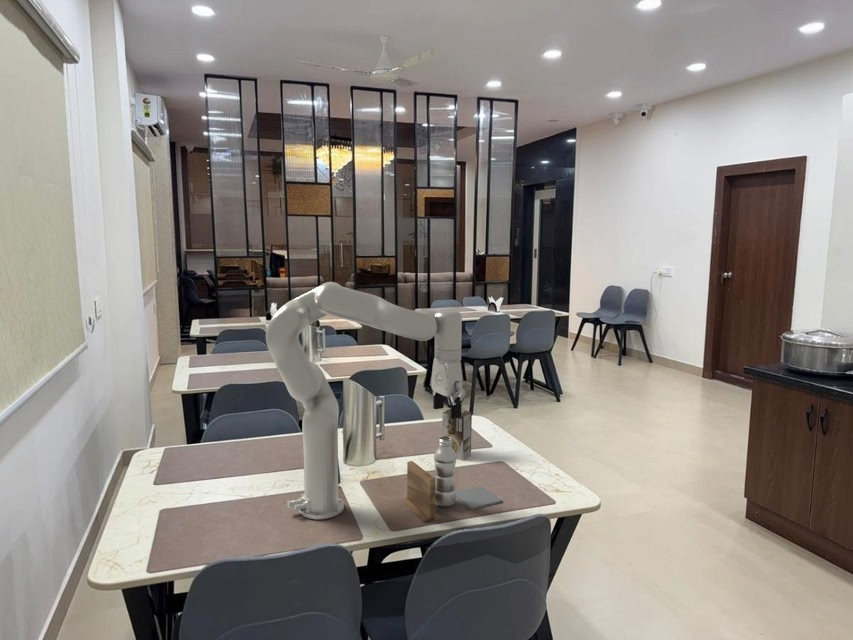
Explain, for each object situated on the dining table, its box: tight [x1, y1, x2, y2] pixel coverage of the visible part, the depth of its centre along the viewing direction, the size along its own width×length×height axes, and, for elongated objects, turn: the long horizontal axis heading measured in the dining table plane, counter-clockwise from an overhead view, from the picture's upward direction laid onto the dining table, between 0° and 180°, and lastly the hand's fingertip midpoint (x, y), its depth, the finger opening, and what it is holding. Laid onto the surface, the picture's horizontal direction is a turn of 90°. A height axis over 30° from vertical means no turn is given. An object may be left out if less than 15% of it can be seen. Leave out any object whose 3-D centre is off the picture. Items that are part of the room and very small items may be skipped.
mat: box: [456, 485, 503, 511], centre depth 168 cm, size 11×11×1 cm
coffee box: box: [441, 407, 473, 461], centre depth 201 cm, size 9×6×16 cm
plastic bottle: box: [433, 436, 457, 507], centre depth 163 cm, size 6×7×20 cm
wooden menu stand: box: [401, 460, 441, 523], centre depth 160 cm, size 5×14×12 cm, turn 28°
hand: (446, 413), depth 160 cm, fingers open, 9 cm apart
